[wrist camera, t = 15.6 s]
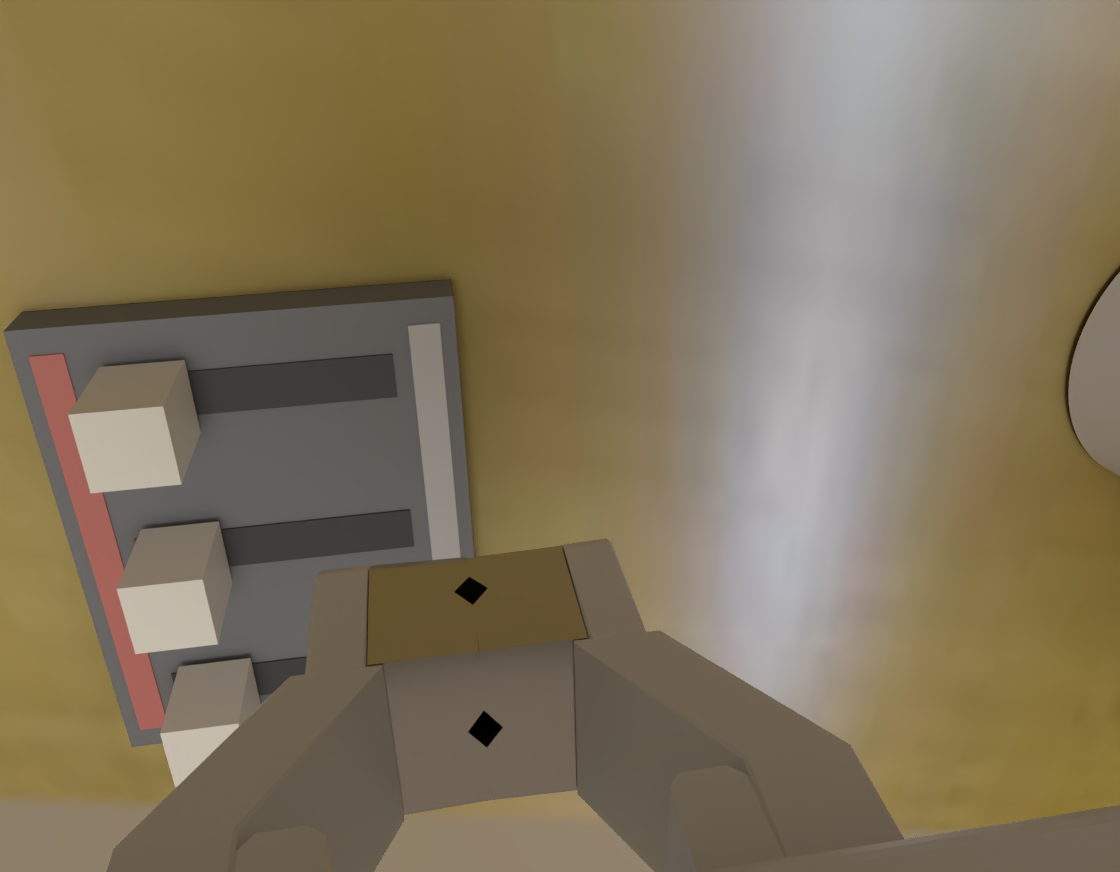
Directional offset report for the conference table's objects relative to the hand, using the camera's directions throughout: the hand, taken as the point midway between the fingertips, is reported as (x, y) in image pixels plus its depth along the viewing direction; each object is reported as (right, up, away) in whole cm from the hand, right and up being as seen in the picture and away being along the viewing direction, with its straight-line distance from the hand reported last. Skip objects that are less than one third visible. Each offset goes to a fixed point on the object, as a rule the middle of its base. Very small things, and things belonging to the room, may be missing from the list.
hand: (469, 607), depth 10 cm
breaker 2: (-14, -9, +33) cm, 37 cm away
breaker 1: (-14, +3, +26) cm, 30 cm away
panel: (-11, -2, +32) cm, 34 cm away
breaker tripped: (-14, -3, +30) cm, 33 cm away
